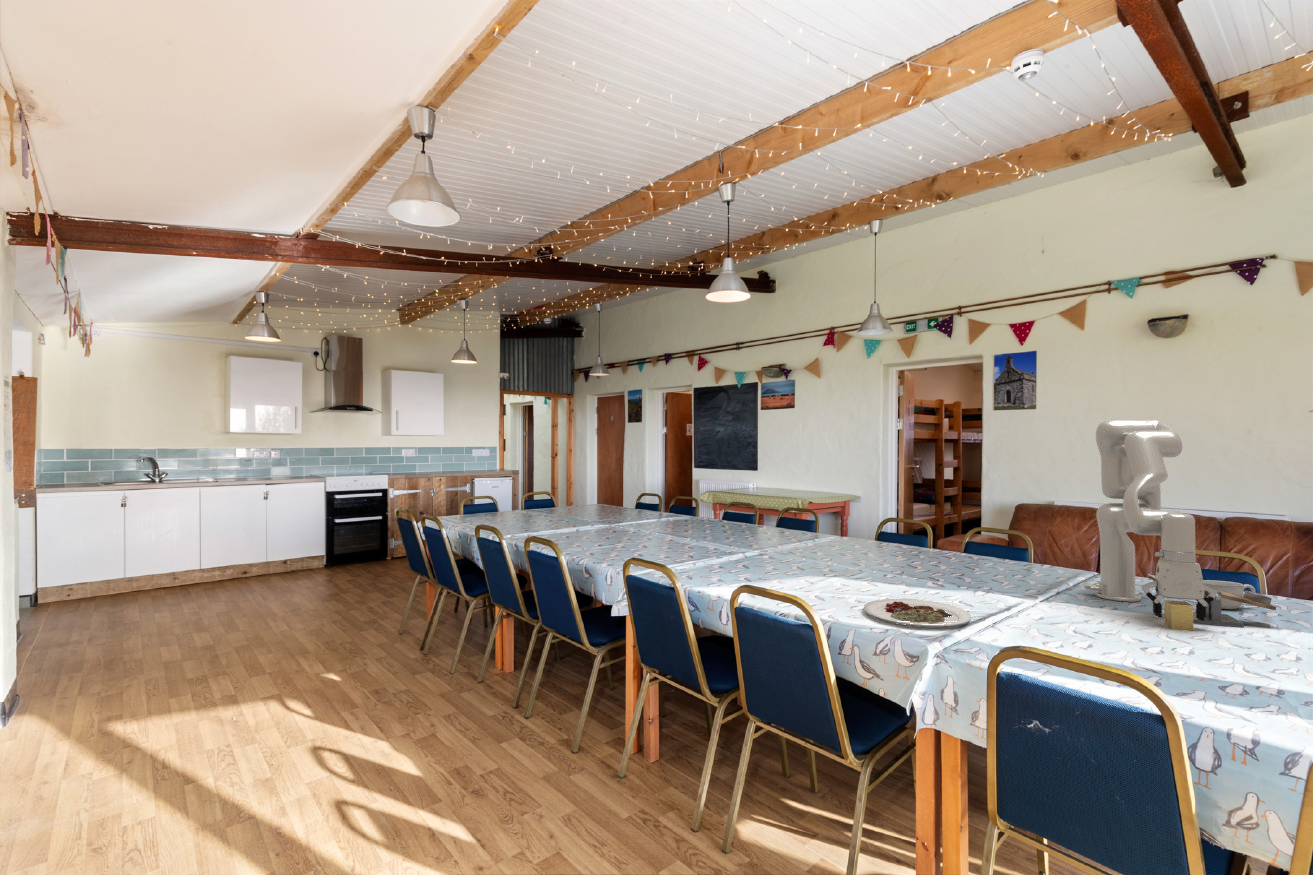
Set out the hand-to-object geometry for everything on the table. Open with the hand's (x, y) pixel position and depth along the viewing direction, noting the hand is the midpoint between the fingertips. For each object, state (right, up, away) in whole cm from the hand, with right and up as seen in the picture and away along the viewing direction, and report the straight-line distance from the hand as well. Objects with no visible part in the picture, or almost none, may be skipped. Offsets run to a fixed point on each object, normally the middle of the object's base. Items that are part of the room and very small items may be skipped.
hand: (1179, 617), depth 181 cm
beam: (+14, +5, +7) cm, 17 cm away
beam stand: (+14, -3, +7) cm, 16 cm away
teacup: (+32, -3, +21) cm, 39 cm away
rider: (0, -3, 0) cm, 3 cm away
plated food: (-69, -4, +13) cm, 70 cm away
